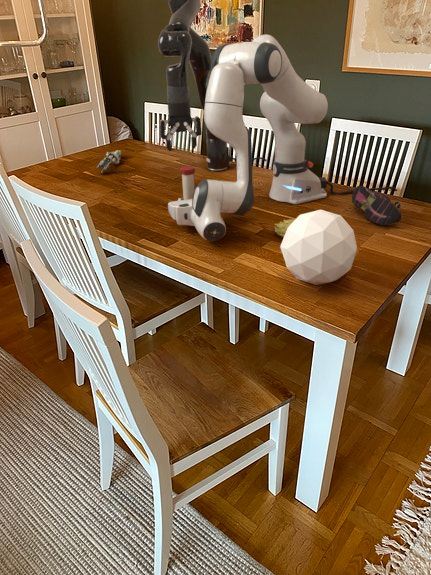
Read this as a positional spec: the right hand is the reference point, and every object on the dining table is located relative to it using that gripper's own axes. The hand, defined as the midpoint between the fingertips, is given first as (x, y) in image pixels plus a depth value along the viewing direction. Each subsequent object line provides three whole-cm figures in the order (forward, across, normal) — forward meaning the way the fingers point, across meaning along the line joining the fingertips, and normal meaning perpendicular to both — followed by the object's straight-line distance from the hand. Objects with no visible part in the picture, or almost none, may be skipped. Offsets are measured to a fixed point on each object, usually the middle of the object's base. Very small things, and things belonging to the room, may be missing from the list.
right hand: (193, 198), depth 158 cm
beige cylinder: (+7, 0, +6) cm, 9 cm away
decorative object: (-26, -30, +6) cm, 41 cm away
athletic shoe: (-22, -62, +7) cm, 66 cm away
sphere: (-54, -22, +6) cm, 59 cm away
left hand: (+8, +1, -15) cm, 17 cm away
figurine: (+72, +25, +6) cm, 76 cm away
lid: (+7, 0, -9) cm, 11 cm away
